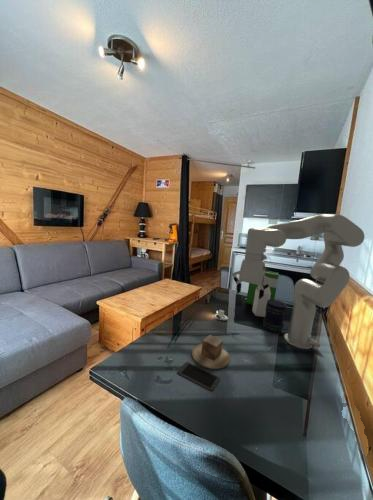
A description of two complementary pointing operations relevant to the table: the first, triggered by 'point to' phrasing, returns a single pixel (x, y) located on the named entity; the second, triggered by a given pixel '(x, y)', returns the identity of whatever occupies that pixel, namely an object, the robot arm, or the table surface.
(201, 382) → the cell phone
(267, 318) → the storage jar
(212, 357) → the walnut cube
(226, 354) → the plate
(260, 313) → the milk carton
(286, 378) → the table surface
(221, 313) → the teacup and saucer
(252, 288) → the hardback book
